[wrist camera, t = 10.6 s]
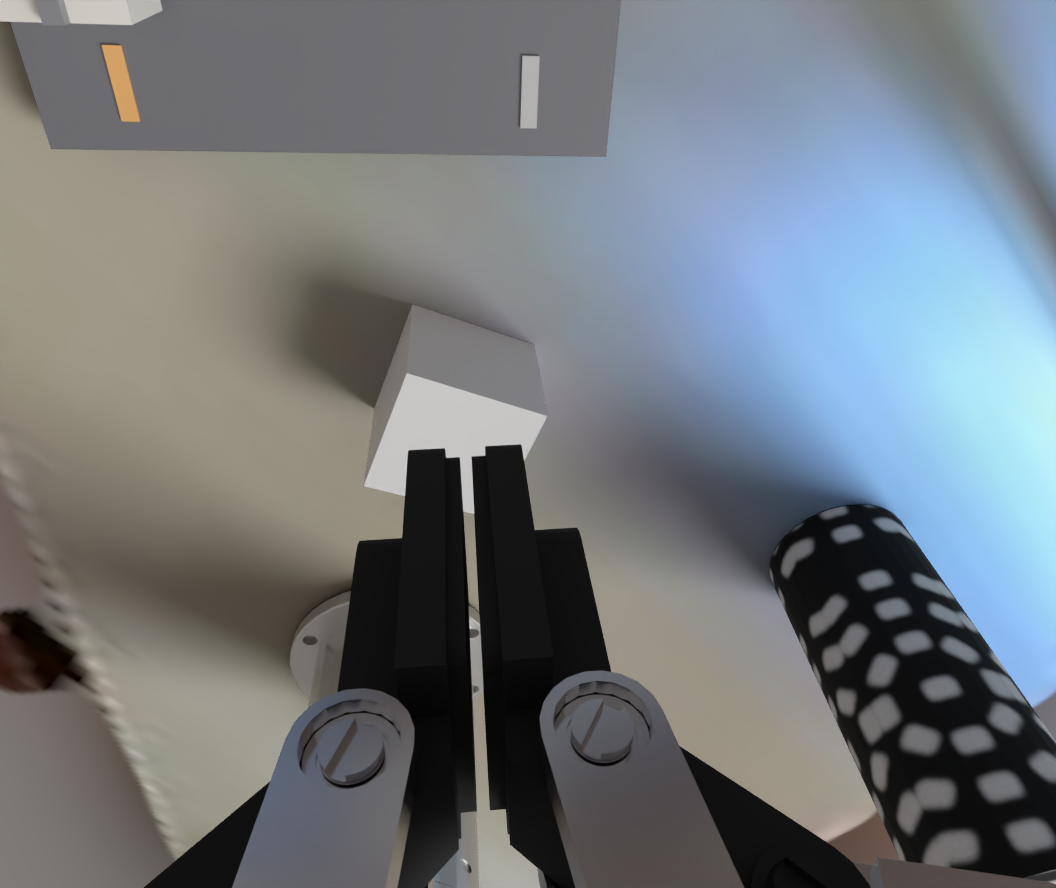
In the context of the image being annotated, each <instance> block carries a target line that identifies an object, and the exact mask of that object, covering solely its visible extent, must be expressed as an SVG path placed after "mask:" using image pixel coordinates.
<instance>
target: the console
mask: <svg viewBox="0 0 1056 888" xmlns="http://www.w3.org/2000/svg"><path fill="white" fill-rule="evenodd" d="M160 1H161V6H162V10H163V11H161V12H159V13H156V14H154V15H152V16H150V17H148V18H146V19H144V20H142V21H140V22H137V23H135V24H133V25H109V24H73V23H70V24H68V25H65V26H61V25H43V24H42V23H38V22H10V23H11V26H12V30H13V33H14V36H15V39H16V42H17V45H18V48H19V51H20V54H21V57H22V60H23V64H24V67H25V70H26V73H27V76H28V79H29V82H30V85H31V88H32V91H33V94H34V98H35V101H36V104H37V107H38V110H39V113H40V116H41V119H42V122H43V125H44V128H45V131H46V135H47V138H48V141H49V144H50V147H51V149H84V150H157V151H229V152H302V153H375V154H447V155H520V156H593V157H606V151H607V140H608V130H609V119H610V109H611V99H612V88H613V78H614V67H615V57H616V46H617V36H618V26H619V15H620V5H621V0H160Z"/></svg>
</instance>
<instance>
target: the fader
mask: <svg viewBox="0 0 1056 888" xmlns="http://www.w3.org/2000/svg"><path fill="white" fill-rule="evenodd" d="M161 11H163V10H162V6H161V1H160V0H0V21H2V22H38V23H42V24H43V25H61V26H65V25H68V24H70V23H73V24H109V25H133V24H135V23H137V22H140V21H142V20H144V19H146V18H148V17H150V16H152V15H154V14H156V13H159V12H161Z"/></svg>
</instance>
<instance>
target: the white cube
mask: <svg viewBox="0 0 1056 888" xmlns="http://www.w3.org/2000/svg"><path fill="white" fill-rule="evenodd" d="M546 418H547V411H546V405H545V400H544V394H543V389H542V384H541V378H540V373H539V367H538V362H537V357H536V351H535V346H534V345H533V344H530V343H527V342H524V341H521V340H518V339H515V338H512V337H509V336H506V335H503V334H500V333H497V332H494V331H491V330H488V329H485V328H482V327H479V326H476V325H473V324H470V323H467V322H464V321H461V320H458V319H455V318H452V317H449V316H446V315H443V314H440V313H437V312H434V311H431V310H428V309H425V308H422V307H419V306H416V305H413V304H412V307H411V309H410V312H409V315H408V318H407V320H406V323H405V326H404V329H403V331H402V334H401V337H400V339H399V342H398V345H397V348H396V350H395V353H394V356H393V359H392V361H391V364H390V367H389V370H388V372H387V375H386V378H385V381H384V383H383V386H382V389H381V392H380V394H379V397H378V400H377V403H376V405H375V408H374V415H373V422H372V429H371V437H370V444H369V451H368V458H367V466H366V473H365V480H364V486H367V487H370V488H374V489H378V490H382V491H386V492H390V493H394V494H398V495H402V496H405V490H406V474H407V459H408V451H409V450H421V449H440V448H445V452H446V458H453V457H460V467H461V484H462V500H463V511H464V512H468V513H472V514H474V497H473V477H472V456H485V446H498V445H517V444H521V446H522V451H523V458H524V460H525V458H526V457H527V455H528V453H529V451H530V449H531V447H532V445H533V443H534V441H535V439H536V437H537V435H538V434H539V432H540V430H541V428H542V426H543V424H544V422H545V420H546Z"/></svg>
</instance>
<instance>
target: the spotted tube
mask: <svg viewBox="0 0 1056 888" xmlns="http://www.w3.org/2000/svg"><path fill="white" fill-rule="evenodd" d="M770 577H771V580H772V583H773V585H774V587H775V589H776V591H777V594H778V596H779V598H780V600H781V602H782V604H783V607H784V609H785V611H786V613H787V615H788V617H789V620H790V622H791V624H792V626H793V628H794V631H795V633H796V635H797V637H798V639H799V641H800V644H801V646H802V648H803V650H804V652H805V654H806V657H807V659H808V661H809V663H810V665H811V667H812V670H813V672H814V674H815V676H816V678H817V680H818V683H819V685H820V687H821V689H822V691H823V693H824V696H825V698H826V700H827V702H828V704H829V706H830V709H831V711H832V713H833V715H834V717H835V719H836V722H837V724H838V726H839V728H840V730H841V732H842V735H843V737H844V739H845V741H846V743H847V745H848V748H849V750H850V752H851V754H852V756H853V758H854V761H855V763H856V765H857V767H858V769H859V771H860V774H861V776H862V778H863V780H864V782H865V785H866V787H867V789H868V791H869V793H870V795H871V798H872V800H873V802H874V804H875V806H876V808H877V811H878V813H879V815H880V817H881V819H882V821H883V824H884V826H885V828H886V830H887V832H888V834H889V836H890V838H891V841H892V843H893V845H894V847H895V850H896V852H897V854H898V856H899V858H900V860H902V861H908V862H915V863H922V864H929V865H936V866H943V867H949V868H956V869H963V870H970V871H977V872H984V873H991V874H997V875H1004V876H1011V877H1018V878H1025V879H1032V880H1038V881H1045V882H1050V883H1054V884H1056V741H1055V740H1054V738H1053V737H1052V735H1051V734H1050V732H1049V731H1048V730H1047V728H1046V727H1045V725H1044V724H1043V723H1042V721H1041V720H1040V718H1039V717H1038V715H1037V714H1036V713H1035V712H1034V710H1033V708H1032V707H1031V705H1030V704H1029V703H1028V701H1027V700H1026V698H1025V697H1024V695H1023V694H1022V693H1021V691H1020V690H1019V688H1018V687H1017V685H1016V684H1015V683H1014V681H1013V680H1012V678H1011V677H1010V676H1009V674H1008V673H1007V671H1006V670H1005V668H1004V667H1003V666H1002V664H1001V663H1000V661H999V660H998V658H997V657H996V656H995V654H994V653H993V651H992V650H991V649H990V647H989V646H988V644H987V643H986V641H985V640H984V639H983V637H982V636H981V634H980V633H979V631H978V630H977V629H976V627H975V626H974V624H973V623H972V622H971V620H970V619H969V617H968V616H967V614H966V613H965V612H964V610H963V609H962V607H961V606H960V604H959V603H958V602H957V600H956V599H955V597H954V596H953V595H952V593H951V592H950V590H949V589H948V587H947V586H946V585H945V583H944V582H943V580H942V579H941V577H940V576H939V575H938V573H937V572H936V570H935V569H934V568H933V566H932V565H931V563H930V562H929V560H928V559H927V558H926V556H925V555H924V553H923V552H922V550H921V549H920V548H919V546H918V545H917V543H916V542H915V541H914V539H913V538H912V536H911V535H910V533H909V532H908V531H907V529H906V528H905V526H904V525H903V523H902V522H901V521H900V520H899V519H898V518H897V517H896V516H895V515H894V514H893V513H891V512H889V511H887V510H885V509H883V508H879V507H876V506H870V505H849V506H843V507H838V508H834V509H830V510H828V511H825V512H822V513H819V514H817V515H815V516H813V517H811V518H809V519H807V520H805V521H804V522H802V523H801V524H800V525H798V526H797V527H795V528H794V529H793V530H792V531H791V532H790V533H788V534H787V535H786V536H785V537H784V538H783V540H782V541H781V542H780V544H779V545H778V546H777V548H776V550H775V552H774V554H773V556H772V558H771V562H770Z"/></svg>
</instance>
